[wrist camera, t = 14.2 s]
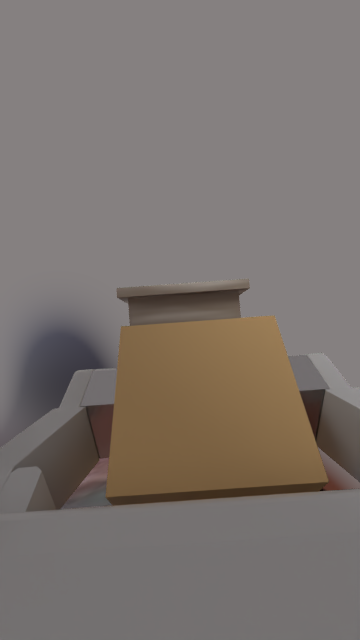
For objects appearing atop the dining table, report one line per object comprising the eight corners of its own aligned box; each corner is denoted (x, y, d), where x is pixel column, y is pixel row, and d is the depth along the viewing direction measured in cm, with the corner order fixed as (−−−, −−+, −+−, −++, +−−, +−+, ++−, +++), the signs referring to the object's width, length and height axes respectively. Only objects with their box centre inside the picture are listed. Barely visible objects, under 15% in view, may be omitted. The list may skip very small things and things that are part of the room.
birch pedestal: (269, 531, 33) (248, 278, 34) (132, 541, 33) (116, 288, 34) (240, 467, 49) (227, 296, 50) (148, 473, 49) (137, 303, 50)
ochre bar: (329, 481, 6) (274, 315, 8) (105, 497, 6) (120, 326, 8) (234, 570, 22) (226, 505, 25) (176, 574, 22) (174, 509, 25)
